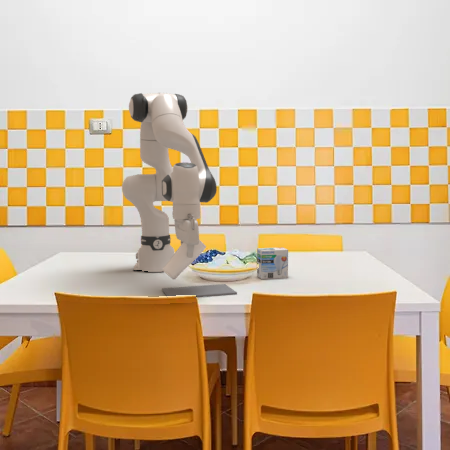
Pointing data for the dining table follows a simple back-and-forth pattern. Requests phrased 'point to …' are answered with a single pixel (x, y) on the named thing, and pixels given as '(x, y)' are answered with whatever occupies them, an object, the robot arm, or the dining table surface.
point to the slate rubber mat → (200, 290)
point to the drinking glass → (182, 260)
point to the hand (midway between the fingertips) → (187, 255)
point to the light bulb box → (272, 263)
